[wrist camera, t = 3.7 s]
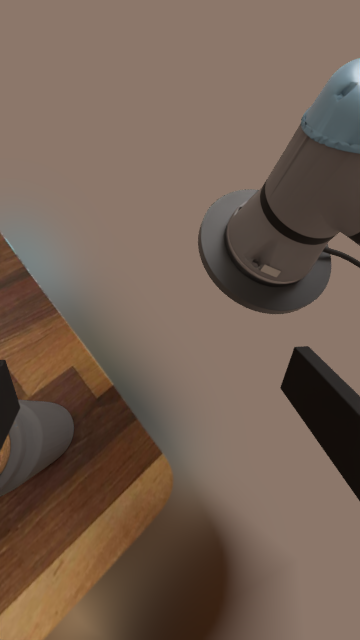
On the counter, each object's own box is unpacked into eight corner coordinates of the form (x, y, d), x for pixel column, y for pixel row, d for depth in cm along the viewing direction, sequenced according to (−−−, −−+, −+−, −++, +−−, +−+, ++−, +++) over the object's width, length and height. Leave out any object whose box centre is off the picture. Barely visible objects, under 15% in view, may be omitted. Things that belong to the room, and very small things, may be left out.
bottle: (41, 479, 25) (-72, 570, 11) (-3, 437, 25) (-166, 474, 11) (87, 427, 27) (42, 448, 13) (46, 390, 27) (-41, 371, 13)
